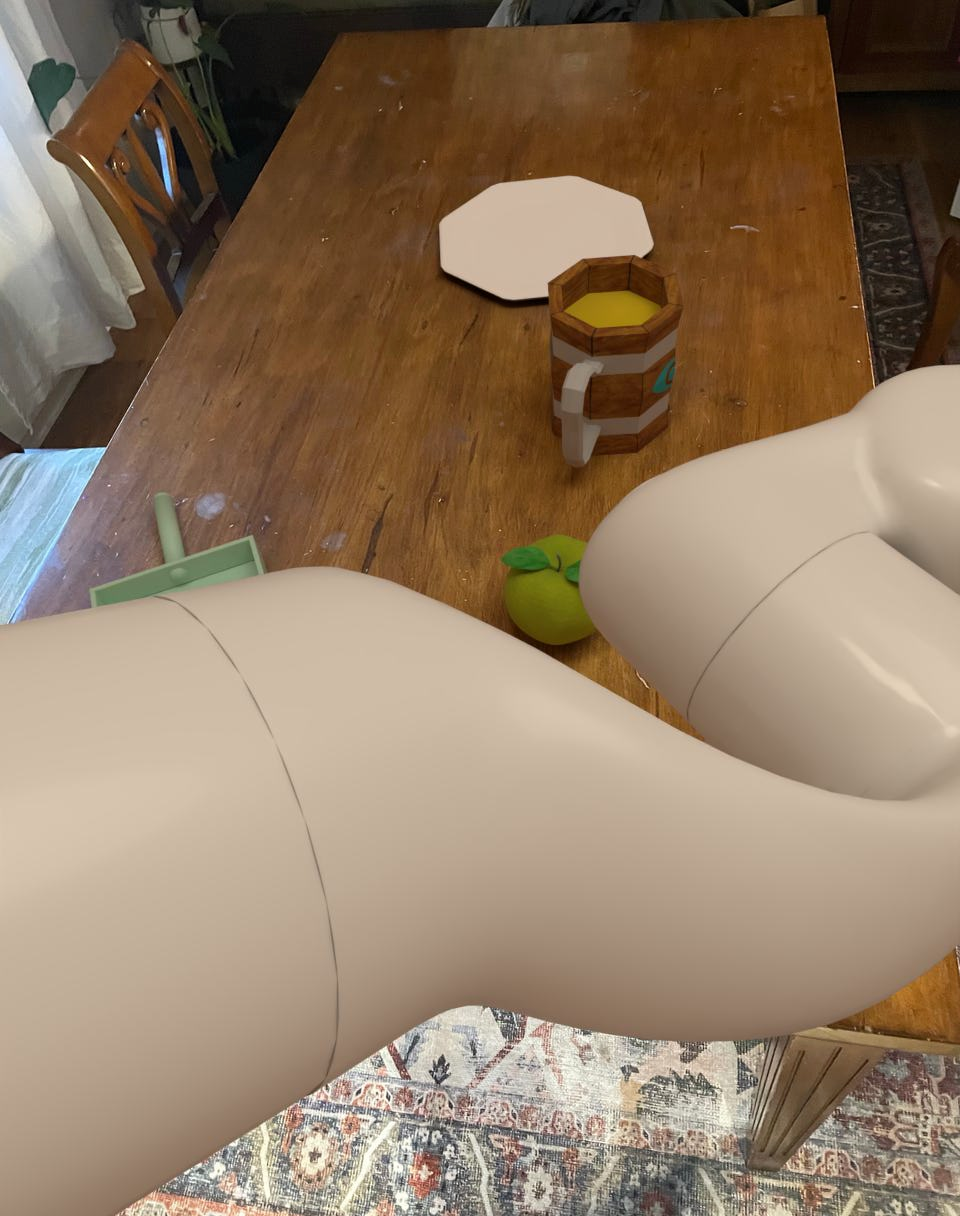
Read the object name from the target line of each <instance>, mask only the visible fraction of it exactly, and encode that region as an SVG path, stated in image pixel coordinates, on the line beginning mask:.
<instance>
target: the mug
mask: <svg viewBox="0 0 960 1216" xmlns="http://www.w3.org/2000/svg"><path fill="white" fill-rule="evenodd" d="M548 295H549V298H548V307H549V318H550V331H549V332H550V333H549V344H548V346H549V347H548V348H549V363H550V365H549V366H550V378H551V391H550V399H549V406H550V407H549V408H550V420H551V421H550V422H551V433H552V435H554V436H556V437H557V438H559V439H560V440H561V447H562V448H561V449H562V451H561V453H562V456H563V459H564V461H565V463H566V465H568V466H570V467H573V468H583V467H584V466H585V465H586V464H587V463H588V461H589V460H590V458H591V456H598V455H617V454H618V455H619V454H633V453H634V454H635V453H639V452H640V451H641V450H642V449H644V447H646V446H647V445H649V443H650V442H652V441H653V440H654V439H656V437H657V436H659V435H660V434H661V433H662V432H664V431H665V430H666V429H667V428H668V427H669V412H668V411H669V400H670V392H671V388H672V383H673V380H674V376H675V372H676V345H677V337H678V336H677V335H678V329H679V325H680V320H681V317H682V313H683V310H684V302H683V297H682V293H681V288H680V285H679V280H678V275H677V273H676V272H674V271H671V270H669V269H667V268H665V267H663V266H661V265H658V264H656V263H653V262H652V261H649V260H647V259H645V258H644V257H643V258H640V257H638V256H636V255H626V256H613V257H599V258H586V259H581V260H580V261H579V262H577V263H576V264H574V265H573V266H571V267H570V268H568V269H567V270H566V271H564V272H563V273H561V274H560V275H558V276H557V277H555V278H554V279H553V280H551V281H550V282H548Z"/></svg>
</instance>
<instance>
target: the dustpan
mask: <svg viewBox="0 0 960 1216" xmlns="http://www.w3.org/2000/svg"><path fill="white" fill-rule="evenodd" d="M152 506H153V511H154V515H155V521H156V525H157V530H158V536H159V540H160V543H161V549H162V555H163V560H164V564H160V565H157V566H153V567H152V568H149V569H145V570H143V571H139V572H136V573H133V574H130V575H127V576H124V577H121V578H118V579H116V580H113V581H109V582H106V583H103V584H100V585H96V586H94V587H91V588H89V590H88V591H89V597H90V606H91V608H94V607H99V606H104V605H109V604H115V603H120V602H125V601H131V600H136V599H141V598H146V597H152V596H157V595H163V594H168V593H174V592H180V591H185V590H190V589H195V588H200V587H205V586H210V585H215V584H220V583H225V582H230V581H234V580H239V579H243V578H248V577H252V576H257V575H261V574H266V573H268V570H267V566H266V563H265V560H264V558H263V554H262V552H261V550H260V548H259V546H258V544H257V541H256V539H255V537H254V535H253V534H251V535H247V536H245V537H242V538H239V539H235V540H233V541H229V542H227V543H226V542H225V543H224V544H221V545H217V546H215V547H212V548H208V549H205V550H203V551H199V552H196V553H194V554H191V555H187V556H186V551H185V548H184V543H183V540H182V534H181V530H180V525H179V521H178V517H177V513H176V508H175V503H174V499H173V497H172V495H171V494H170V493H168V492H163V491H161V492H158V493H156V494H155V495H154V496H153V498H152Z"/></svg>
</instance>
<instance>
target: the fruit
mask: <svg viewBox="0 0 960 1216" xmlns="http://www.w3.org/2000/svg"><path fill="white" fill-rule="evenodd" d="M588 542H589V541H588ZM588 542H587V541H584V540H581V539H577V538H574V537H572V536H569V535H566V534H559V533H557V534H552V535H548V536H546V537H544V538H541V539H539V540H537V541H533V542H532V543H530V544H528V545H525V546H519V547H515V548H513V549H510V550H509V551H507V552H505V553H504V554H503V555H502V556H501V562H502V563H503V564H504V565H506V566H508V567H510V568H509V570H508V572H507V574H506V577H505V579H504V584H503V599H504V604H505V607H506V610H507V612H508V614H509V617H510V618H511V620H512V621H513V623H514V624H515V625H516V626H517V627H518V628H519V630H521V631H522V632H523V633H524V634H526V635H527V636H529V637H531V638H533V639H534V640H536V641H538V642H541V643H544V644H547V645H552V646H561V645H567V644H570V643H574V642H577V641H580V640H582V639H584V638H587V637H589V636H590V635H592V634H593V633H596V631H598V629H597V628H596V627H595V626H594V624H593V622H592V621H591V619H590V617H589V616H588V614H587V612H586V610H585V608H584V605H583V602H582V599H581V595H580V591H579V570H580V563H581V559H582V556H583V553H584V550H585V547H586V545H587V543H588Z"/></svg>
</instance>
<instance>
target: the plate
mask: <svg viewBox="0 0 960 1216" xmlns="http://www.w3.org/2000/svg"><path fill="white" fill-rule="evenodd" d="M438 228H439V229H438V230H439V255H440V257H439V258H440V268H441V269H442V271H443V272H444V273H445V274H447V275H449V276H451V277H453V278H456V279H458V280H460V281H463V282H464V283H466V284H468V285H471V286H472V287H475V288H477V289H479V290H482V291H484V292H485V293H488V294H490V295H492V296H494V297H496V298H498V299H501V300H502V301H507V302H508V301H509V302H523V301H530V300H541V299H549V295H548V282H550V281H551V280H553V279H554V278H555V277H557V276H558V275H560V274H561V273H563V272H564V271H566V270H567V269H568V268H570V267H571V266H573V265H574V264H576V263H577V262H579V261H580V260H581V259H586V258H599V257H613V256H626V255H636V256H638V257H640V258H643V259H644V257H646V256H647V255H648V254H650V253H651V252H652V251H653V248H654V246H655V243H654V240H653V236H652V233H651V230H650V227H649V223H648V220H647V217H646V213H645V210H644V207H643V204H642V201H640V200H639V199H638V198H636V197H635V196H633V195H629V194H628V193H627V194H626V193H624V192H621V191H619V190H616V189H613V188H610V187H608V186H605V185H602V184H600V183H597V182H593V181H592V180H588V179H586V178H583V177H580V176H576V175H563V176H553V177H544V178H533V179H526V180H517V181H506V182H499V183H496V184H493V185H490V186H489V187H488V188H486V189H484V190H482V192H479V194H477V195H476V196H474V197H473V198H471V199H470V200H468V201H467V202H465V203H463V204H462V205H461V206H458V207H457V208H456V209H455V210H453V211H452V212H450V213H448V215H446V216H444V217H443V218H441V220H440V222H439V224H438Z"/></svg>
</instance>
